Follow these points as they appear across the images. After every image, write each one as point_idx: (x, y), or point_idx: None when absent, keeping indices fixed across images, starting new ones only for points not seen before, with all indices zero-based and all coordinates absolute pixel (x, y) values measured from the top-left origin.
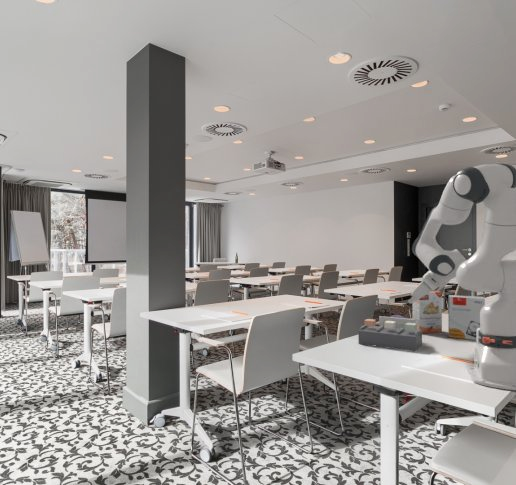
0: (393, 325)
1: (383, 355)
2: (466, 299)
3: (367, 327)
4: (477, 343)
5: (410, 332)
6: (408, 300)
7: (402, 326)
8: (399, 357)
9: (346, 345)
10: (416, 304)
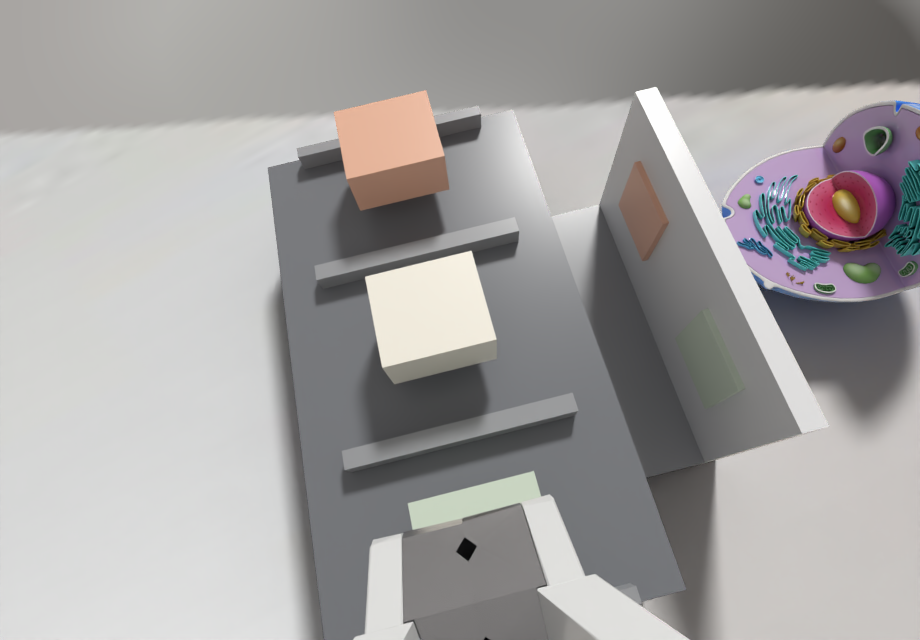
0: (391, 374)
1: (101, 502)
2: None
3: None
4: None
5: None
6: (370, 553)
7: (696, 338)
8: (106, 625)
9: (219, 200)
10: None
